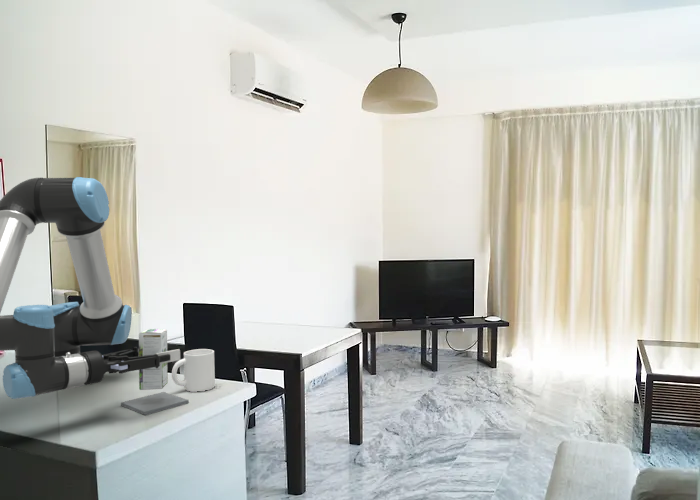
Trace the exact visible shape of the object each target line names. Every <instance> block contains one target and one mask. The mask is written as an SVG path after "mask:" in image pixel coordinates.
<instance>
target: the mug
mask: <svg viewBox="0 0 700 500" xmlns="http://www.w3.org/2000/svg"><path fill="white" fill-rule="evenodd" d="M182 365H183V373H184V374H183V379H184V380H181V379H179V377H178V374H177V373H178V371H179V370H178V369H179V368H180V367H181V366H182ZM215 370H216V369H215V350H213V349H208V348H198V349H197V348H196V349H191V350H187V351H183V358H180V360H178V361H175V363H174V365H173V367H172V370H171V378H172V379H171V380H172V381H173V382H174V384H175V385H177V386H180V387H181V386H182V387H184V388H185V390H186V391H187V392H189V391H190V392H191V393H198V392H197V391H203V392H206V391H205V390H208V391H210V390H209V389H211V390H213V389H214V388H215V385H216V384H215V383H216V377H215V376H216V375H215V374H216V373H215ZM212 388H213V389H212Z"/></svg>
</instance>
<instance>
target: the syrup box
mask: <svg viewBox="0 0 700 500" xmlns="http://www.w3.org/2000/svg"><path fill="white" fill-rule="evenodd" d="M138 349H139V356H147V355H155V353H160V352H166V351H168V330H167V329H165V328H149V329H145V330H143V331H141V332H139V334H138ZM168 373H169V372H168V363H163V364H160V366H159V367H158V368H156V367H153V368H147V369H141V370H138V375H139V376H138V379H139V381H138V383H139V385H138V387H139V388H138V389H139V390H140V391H145V390H146V391H150V390H151V391H152V390H162V389H164V388H165V387H166V385H167V384H168V381H169V379H168V376H169V375H168Z"/></svg>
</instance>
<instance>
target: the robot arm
mask: <svg viewBox="0 0 700 500" xmlns="http://www.w3.org/2000/svg"><path fill="white" fill-rule="evenodd" d="M109 204H110V201H109V196H108V194H107V191H106V189H105V187H104V186H103V184H102V182H100V181H99V180H97V179H96V178H93V177H89V178H88V177H84V176H83V177H81V176H76V177H34V178H29V179H27V180H24V181H22V182H19V183H18V184H17V185H15V186H13V187H12V188H11V189H10V190H9V191H8V192H6V193H5V194H4V195H3V197H2V198H1V199H0V314H1V312H2V310H3V306H4V303H5V301H6V298H7V295H8V292H9V290H10V287H11V284H12V280H13V278H14V275H15V272H16V268H17V266H18V263H19V260H20V258H21V255H22V252H23V249H24V246H25V243H26V240H27V238H28V235H31V234H32V233H34V231H35V229H36V226H37V225H38V224H42V223H43V224H45V223H46V224H48V223H49V224H51V223H52V224H55V226H56V229H57V231H58V233H59V234H60V235H62V236H64V237H66V241H67V245H68V249H69V253H70V256H71V260H72V265H73V267H74V268H73V269H74V271H75V275H76V278H77V279H76V280H77V284H78V287H79V291H80V294H81V297H82V301H83V302H82V303H81V304H79V301H69V302H63V303H57V304H51V305H48V304H31V305H20V306H17V307H16V308H14V309H13V314H7V315H5V314H3V315H0V351H1V352H2V351H3V352H4V351H14V356H15V358H14V360H15V362H12V363H11V364H8V365H5V367H4V369H3V375H2V385H3V389H4V392H5V395H7V397H9V398H10V399H11V400H13V399H14V400H17V399H22V398H28V397H31V398H33V397H36V396H40V395H44V394H49V393H53V392H57V391H62V390H69V389H74V388H80V387H83V386H87V385H92V384H98V383H100V382H101V381H103V379H104V376H105V375H106V374H107V373H108V374H115V373H116V374H117V372H118V374H124V373H129V372H133V371H139V370H141V369H147V368H153V367H156V368H158V367H159V366H160V364H163V363H167V364H168V363H171V362H178V361H179V360H181V350H180V348H178V349H171V350H167V351H166V352H160V353H155V355H147V356H139V348H138V347H137V346H133V347H132V349H130V348H128V349H123V350H118V351H115V352H110V353H104V354H102V353H101V352H100V351H98V350H89V351H84V352H81V346H83V347H84V346H108V345H109V346H113V345H119V344H121V345H122V344H124V343H126V341H127V340H128V338H129V335H130V331H131V327H132V319H133V318H132V314H133V313H132V307H131V306H130V305H127V304H123V300H122V298H121V297H120V296H119V295H117V294H115V290H114V286H113V280H112V276H111V272H110V267H109V264H108V257H107V254H106V250H105V246H104V240H103V236H102V232H101V231H102V229H103V227H104V226H105V222H106V221H107V220H108V218H109V216H110V207H109Z"/></svg>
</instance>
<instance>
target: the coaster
mask: <svg viewBox="0 0 700 500" xmlns="http://www.w3.org/2000/svg"><path fill="white" fill-rule="evenodd" d="M189 403H190V402H189V399H187V398H183V397H181V396H178V395H175V394H171V393H169V392H166V391H162V392H157V393H154V394H149V395H144V396H142V397H137V398H134V399H130V400H126V401H121V402H120V407H124V408H126V409H129V410H131V411H134V412H137V413H138V414H142V415H143V416H146V415H151V414H154V413H158V412H160V411H165V410H168V409H173V408H176V407H179V406H182V405H186V404H189Z"/></svg>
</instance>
